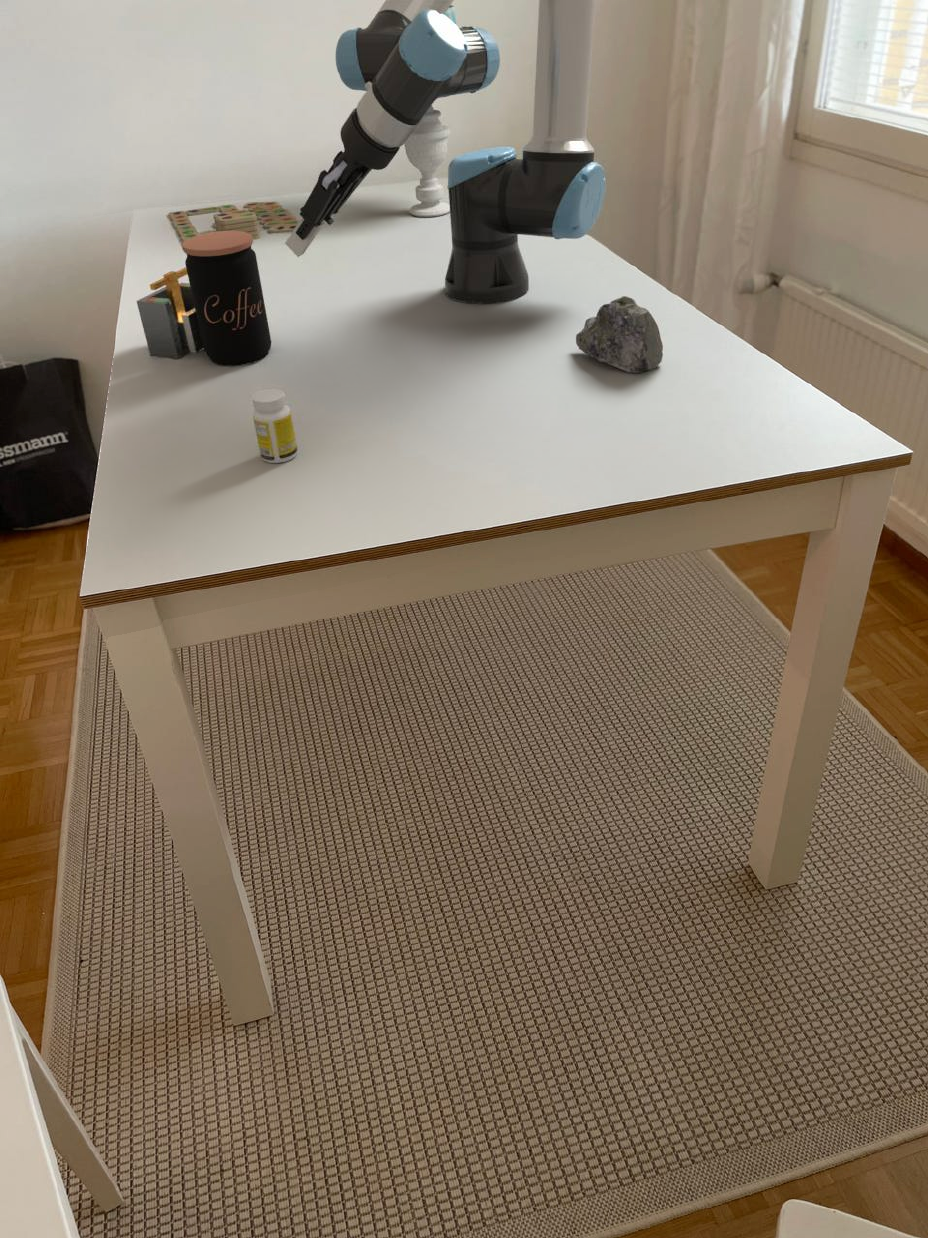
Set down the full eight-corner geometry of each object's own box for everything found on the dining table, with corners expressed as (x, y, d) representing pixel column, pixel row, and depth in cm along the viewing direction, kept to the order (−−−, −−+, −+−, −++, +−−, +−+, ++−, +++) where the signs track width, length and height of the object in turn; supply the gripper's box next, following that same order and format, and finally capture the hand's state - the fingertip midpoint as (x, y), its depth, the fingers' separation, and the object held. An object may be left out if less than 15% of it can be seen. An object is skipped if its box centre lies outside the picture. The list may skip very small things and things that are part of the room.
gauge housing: (211, 339, 165) (199, 284, 159) (178, 359, 158) (164, 301, 153) (184, 336, 167) (171, 281, 162) (150, 355, 160) (135, 299, 155)
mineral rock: (572, 349, 152) (572, 284, 146) (638, 341, 154) (641, 276, 148) (597, 381, 142) (599, 312, 136) (668, 371, 143) (673, 302, 137)
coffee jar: (208, 371, 153) (183, 253, 143) (204, 348, 162) (179, 235, 151) (276, 361, 155) (256, 244, 145) (268, 339, 164) (248, 226, 153)
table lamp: (369, 207, 233) (347, 9, 209) (464, 194, 238) (454, 0, 214) (393, 231, 214) (373, 17, 191) (496, 216, 219) (489, 6, 196)
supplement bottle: (299, 446, 130) (289, 386, 125) (296, 462, 126) (285, 401, 121) (263, 449, 130) (251, 389, 125) (258, 465, 126) (246, 404, 121)
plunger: (227, 334, 163) (213, 266, 157) (193, 354, 156) (178, 284, 150) (199, 330, 165) (185, 264, 159) (165, 350, 158) (148, 281, 152)
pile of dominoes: (309, 233, 219) (305, 207, 216) (187, 252, 212) (181, 226, 209) (277, 201, 246) (273, 178, 242) (167, 217, 239) (162, 193, 235)
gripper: (381, 93, 133) (298, 215, 149) (333, 115, 124) (250, 243, 140) (420, 137, 134) (334, 253, 150) (375, 161, 125) (289, 282, 141)
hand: (294, 248), depth 145 cm, fingers closed
